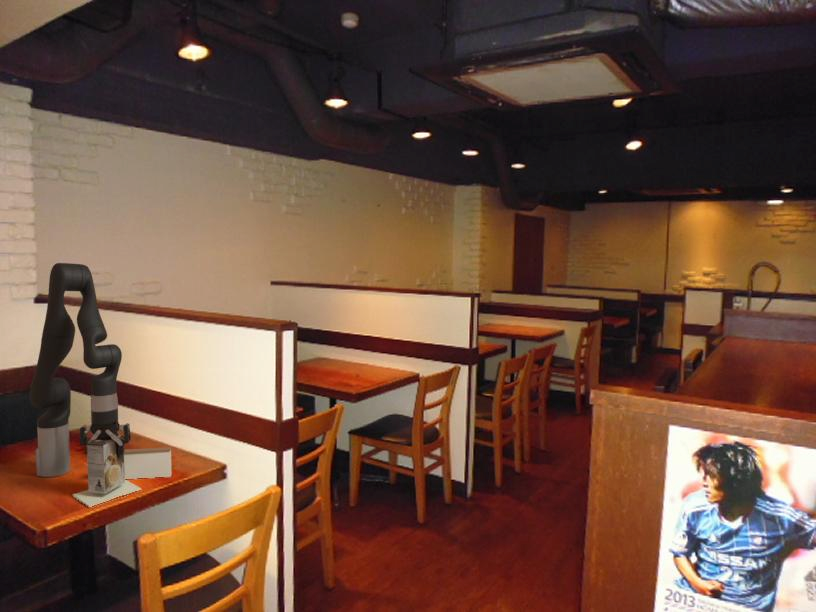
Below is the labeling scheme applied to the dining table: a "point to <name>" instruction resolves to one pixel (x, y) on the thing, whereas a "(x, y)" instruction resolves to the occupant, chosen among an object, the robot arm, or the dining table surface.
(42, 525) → the dining table surface
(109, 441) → the coffee box
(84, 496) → the mat
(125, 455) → the flat box
